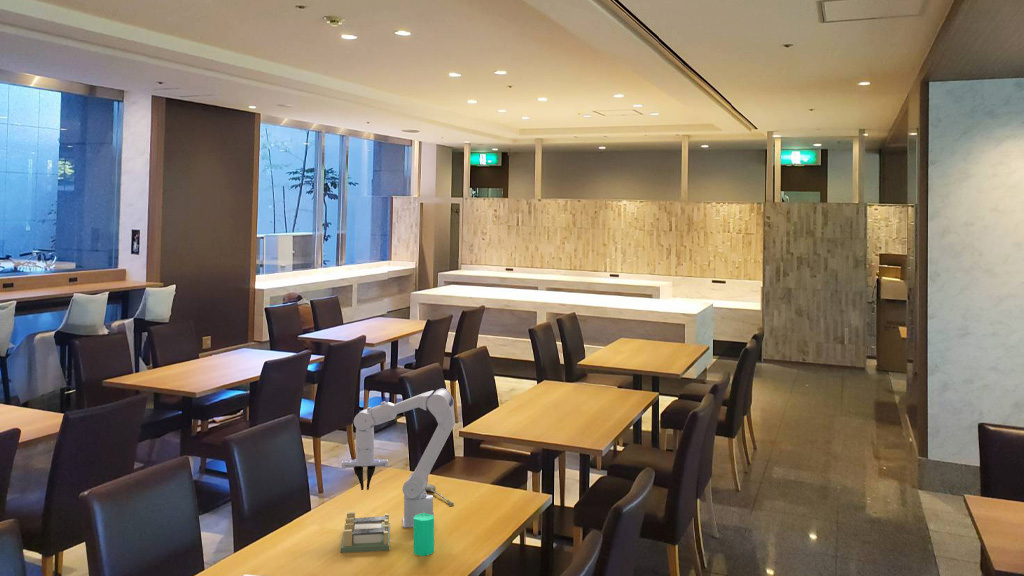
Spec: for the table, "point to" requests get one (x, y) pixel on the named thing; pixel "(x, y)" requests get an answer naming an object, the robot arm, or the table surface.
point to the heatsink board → (367, 545)
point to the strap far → (370, 519)
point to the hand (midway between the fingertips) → (365, 488)
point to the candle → (423, 534)
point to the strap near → (369, 531)
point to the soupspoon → (432, 488)
